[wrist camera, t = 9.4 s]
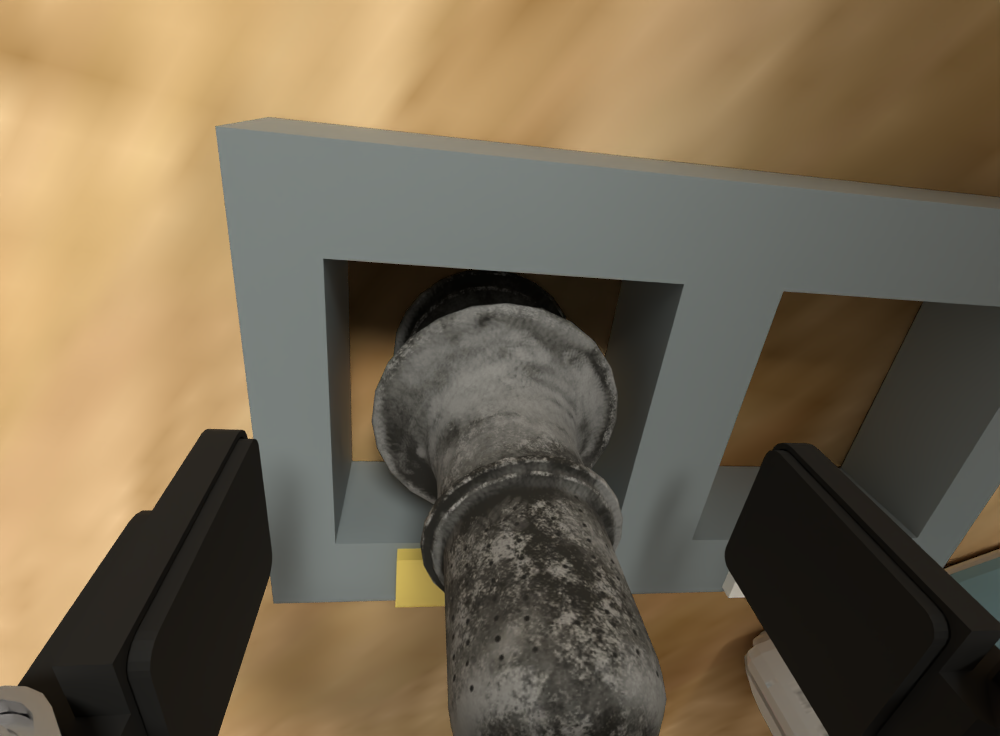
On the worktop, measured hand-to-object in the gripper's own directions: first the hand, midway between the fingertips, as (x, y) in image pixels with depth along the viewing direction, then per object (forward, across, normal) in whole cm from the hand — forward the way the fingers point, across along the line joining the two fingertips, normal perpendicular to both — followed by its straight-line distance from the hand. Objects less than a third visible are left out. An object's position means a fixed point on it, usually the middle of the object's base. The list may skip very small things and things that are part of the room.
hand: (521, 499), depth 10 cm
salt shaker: (+7, 0, 0) cm, 7 cm away
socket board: (+7, -5, 0) cm, 8 cm away
